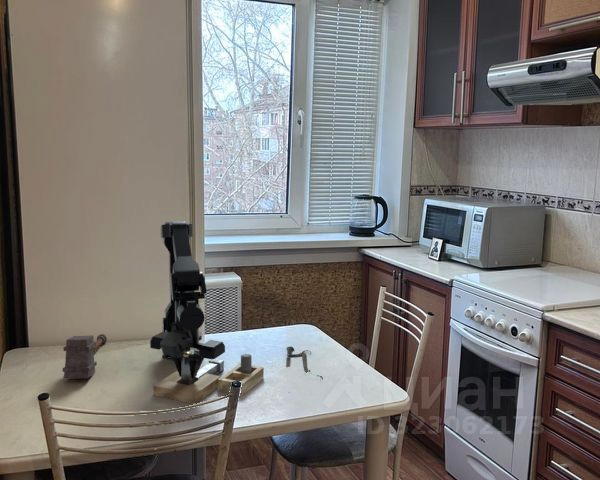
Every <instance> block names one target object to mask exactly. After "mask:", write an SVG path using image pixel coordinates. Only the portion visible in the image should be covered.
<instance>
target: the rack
mask: <svg viewBox="0 0 600 480" xmlns="http://www.w3.org/2000/svg"><path fill="white" fill-rule="evenodd" d="M252 360H253V359H252V355H251V354H250V353H249V354H248V353H243V354H241V355H240V363H238V364H237V365H236V366H234V367H233V368H232V369H230V370H229V371H228V372H226V373H225V374H223V375H222V376H220V378H219V379H218V388H217V391H218V392H224V393H228V394H230V393H229V391H230V387H231V383H232V382H233V381H241V383H242V387H241V393H240V395H239V396H241V397H242V396H244V395H245V394H247V392H249V391H250V390H251V389H253V387H255V386H256V385H257V384H258V383H259V382H260V381H262V380H263V379H264V375H265V373H264V366H263V367H262V366H260V365H259V366H257V365H253V364H252Z"/></svg>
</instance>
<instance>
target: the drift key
mask: <svg viewBox="0 0 600 480" xmlns="http://www.w3.org/2000/svg"><path fill="white" fill-rule="evenodd" d="M224 368H225V360H224V359H218V358H215V359H208V364H206V365H205V366H203V367H200V368H199V371H198V373H197V375H196V377H195V378H194V383H195V382H196V381H198V379H199V378H200V377H202V376H203V375H205V374H206V373H207V374H212V375H216V374H219V373H222V372H224V370H225V369H224Z"/></svg>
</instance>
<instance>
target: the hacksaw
mask: <svg viewBox="0 0 600 480" xmlns="http://www.w3.org/2000/svg"><path fill="white" fill-rule="evenodd" d="M294 350H295V349H294V347H293V346H291V345H290V346H287V347H286V351H287V354H286V358H285V359H286V360H285V361H286V362H285V363H286V364H285V367H286V368H290V367H291V358H292V357H295V358H296V357H301V359H302V367H303V370H304V373H305V372H306V373H307V372H311V369H308V362H307V361H308V358H307V353H305V352H309V355H310V354H312V352H311V350H306V349H305V350H303V351H302V352H300V353H293V352H294ZM316 375H317V374H316ZM319 376H320V378H321V379H322V380H323V379H324V377H323V376H322V375H317V376H316V377H319Z"/></svg>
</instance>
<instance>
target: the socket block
mask: <svg viewBox="0 0 600 480" xmlns="http://www.w3.org/2000/svg"><path fill="white" fill-rule="evenodd" d="M220 377H221V376H220V375H216V374H215V375H212V374H207V373H206V374H205V375H203V376H202V377H200V378H199V379H198V381H196V382H195V383H193V384H192V385H185V384H181V377H180V375H179V373H178V370H176V371H175V372H173V373H171V374H170V375H168V376H166V377H165V378H163V379H161V380H160V381H158V382H157V383H155V384H153V387H152V388H153V389H152V390H153V396H157V397H160V398H161V397H162V398H166V399H169V400H173V401H174V400H175V401H179V402H184V403H189V404H192V403H196V404H197V403H199V402H200V401H202V400H203V399H204V398H205V397H207V396H208V395H209V394H211V393H212V392H213V391H215V390H217V389H218V379H219V378H220Z"/></svg>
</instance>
